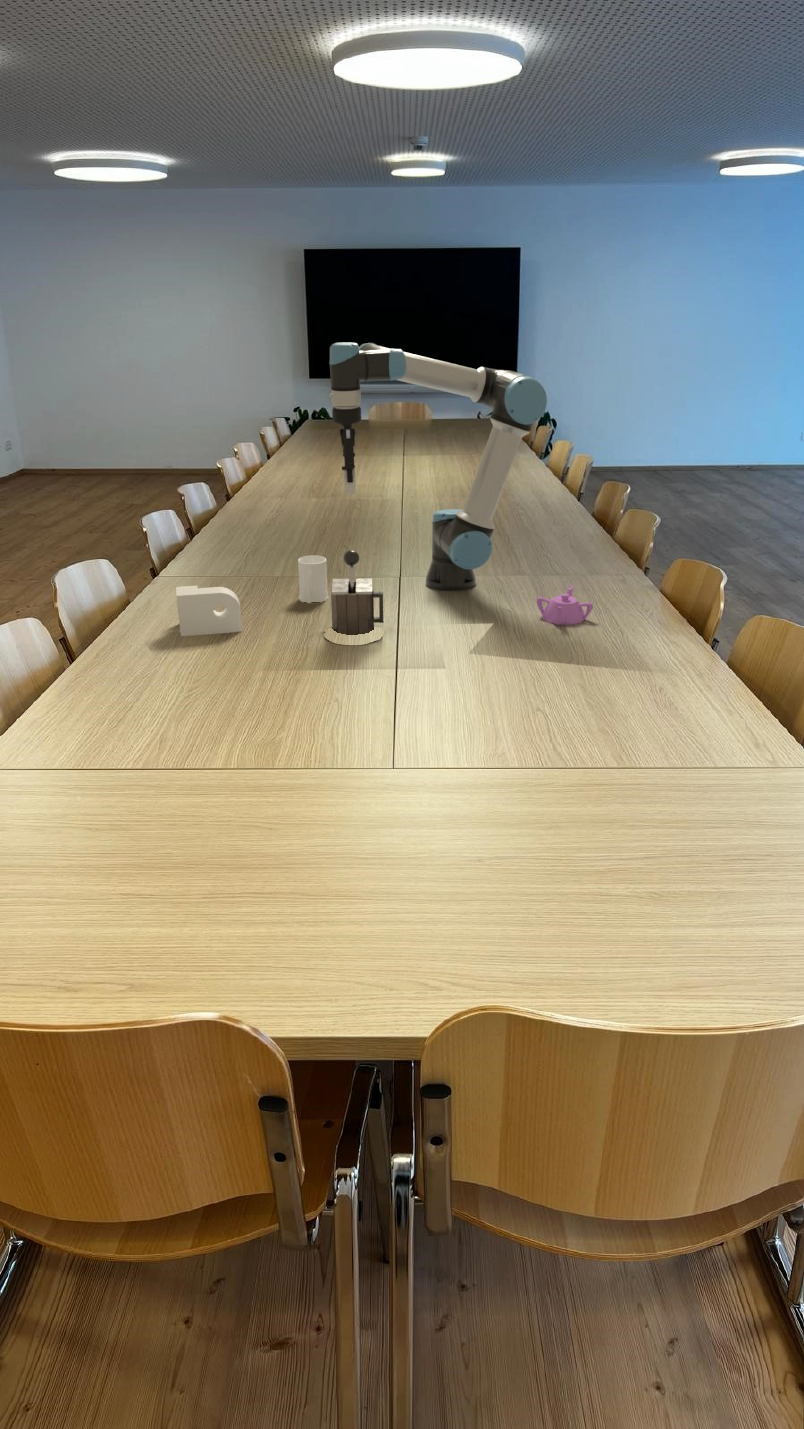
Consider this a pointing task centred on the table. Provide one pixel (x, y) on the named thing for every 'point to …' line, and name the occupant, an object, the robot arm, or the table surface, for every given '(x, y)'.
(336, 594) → the wooden tankard
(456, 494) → the table surface
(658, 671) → the table surface
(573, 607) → the teapot
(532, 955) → the table surface
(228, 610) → the tape dispenser
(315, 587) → the mug
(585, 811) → the table surface
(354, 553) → the plunger
